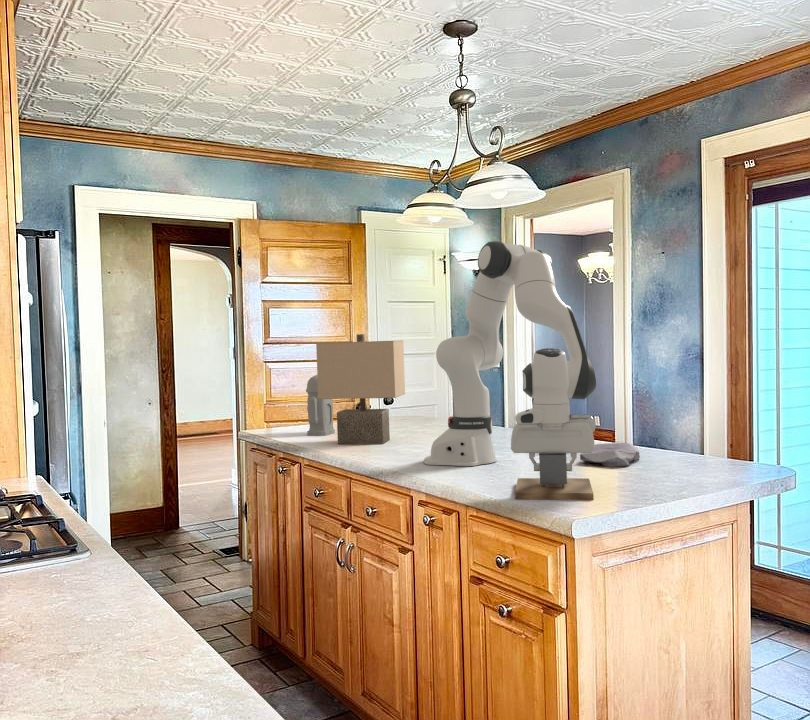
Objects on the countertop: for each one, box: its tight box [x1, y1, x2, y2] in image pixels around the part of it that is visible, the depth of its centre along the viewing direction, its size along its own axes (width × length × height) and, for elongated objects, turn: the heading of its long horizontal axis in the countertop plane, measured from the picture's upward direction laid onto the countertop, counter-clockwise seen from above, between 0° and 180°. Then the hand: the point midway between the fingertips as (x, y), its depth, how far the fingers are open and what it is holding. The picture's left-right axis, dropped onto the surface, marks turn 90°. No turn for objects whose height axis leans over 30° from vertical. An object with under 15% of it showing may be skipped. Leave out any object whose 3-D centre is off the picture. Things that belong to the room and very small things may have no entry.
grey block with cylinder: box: [538, 453, 568, 484], centre depth 183 cm, size 6×9×7 cm
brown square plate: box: [514, 477, 595, 501], centre depth 182 cm, size 18×18×6 cm
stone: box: [579, 442, 641, 468], centre depth 222 cm, size 20×15×5 cm
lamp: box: [315, 333, 406, 445], centre depth 281 cm, size 29×18×41 cm, turn 79°
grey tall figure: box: [305, 374, 336, 437], centre depth 311 cm, size 15×10×25 cm
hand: (552, 470), depth 182 cm, fingers closed on grey block with cylinder, 6 cm apart
